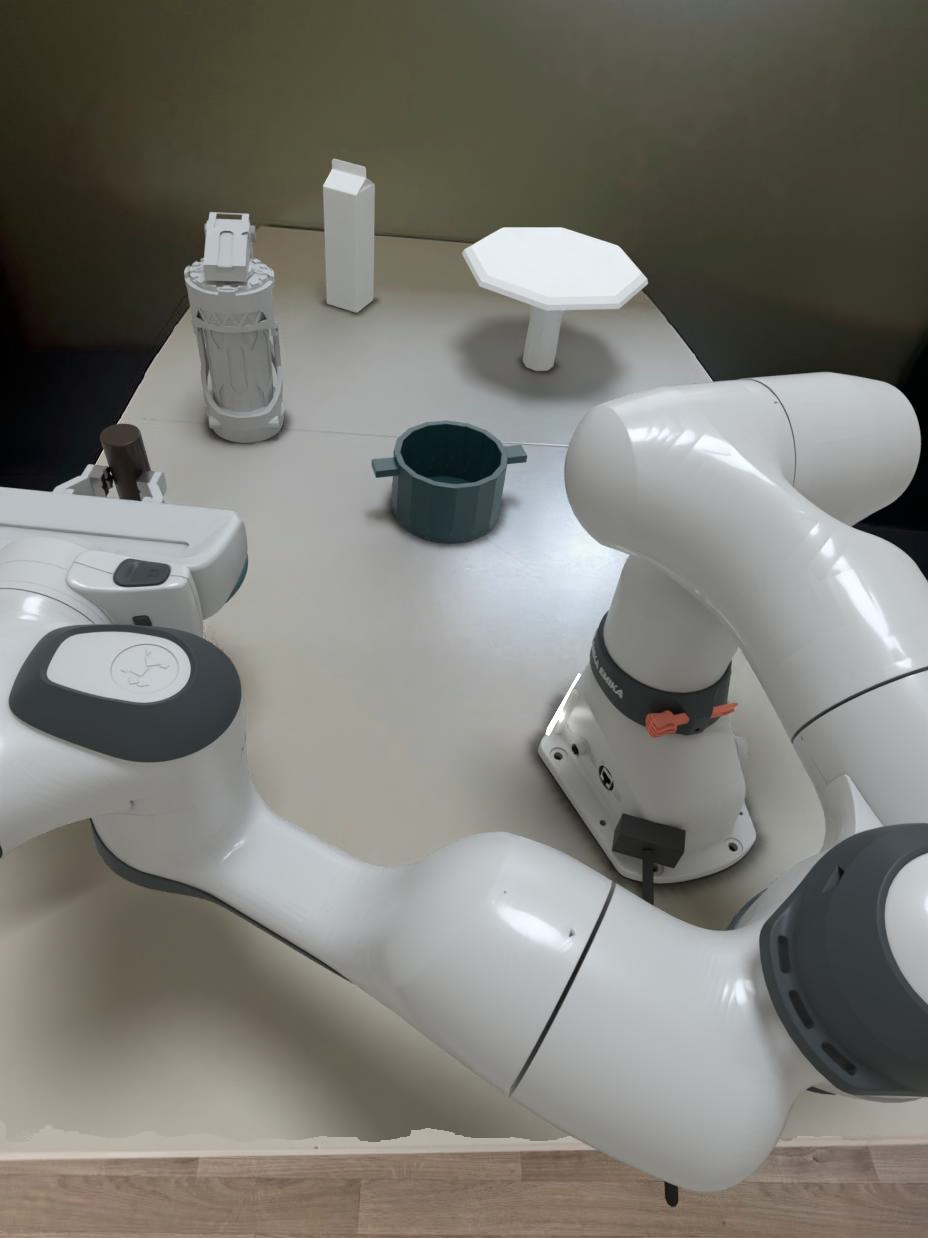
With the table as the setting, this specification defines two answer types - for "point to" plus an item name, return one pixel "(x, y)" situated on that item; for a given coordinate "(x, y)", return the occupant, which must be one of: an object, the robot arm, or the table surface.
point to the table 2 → (553, 279)
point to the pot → (448, 480)
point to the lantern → (236, 333)
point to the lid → (134, 467)
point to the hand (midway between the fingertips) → (129, 475)
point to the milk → (349, 236)
